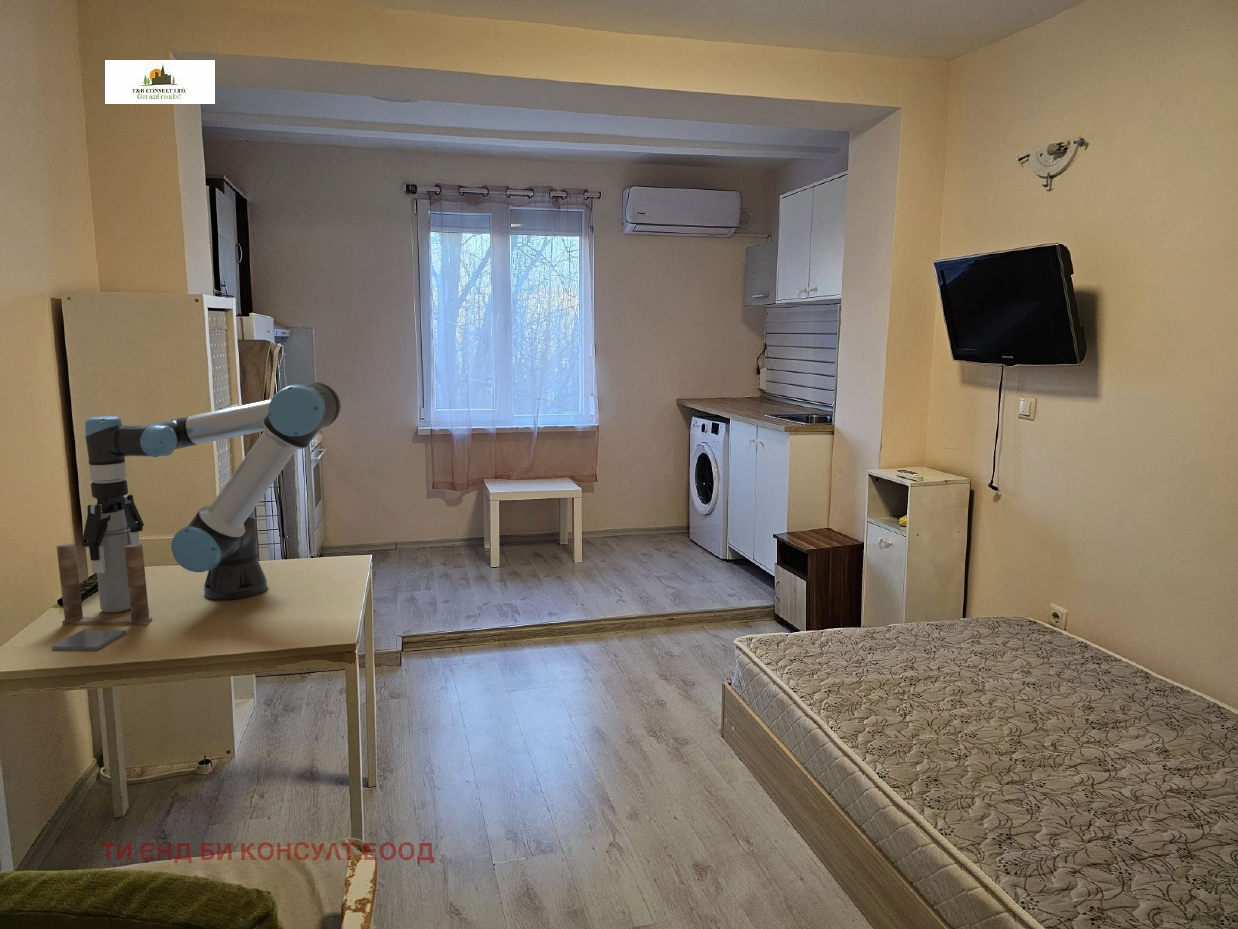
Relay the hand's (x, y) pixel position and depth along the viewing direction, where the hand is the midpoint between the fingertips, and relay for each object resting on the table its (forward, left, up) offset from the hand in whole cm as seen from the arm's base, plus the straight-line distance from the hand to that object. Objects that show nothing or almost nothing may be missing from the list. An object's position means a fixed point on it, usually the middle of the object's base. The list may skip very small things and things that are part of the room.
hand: (117, 564), depth 199 cm
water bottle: (0, 0, -11) cm, 11 cm away
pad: (-7, +22, -11) cm, 26 cm away
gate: (-3, +10, -11) cm, 15 cm away
